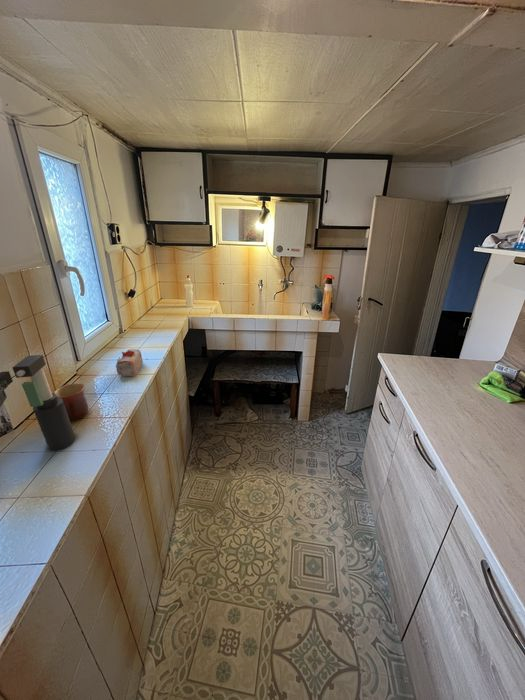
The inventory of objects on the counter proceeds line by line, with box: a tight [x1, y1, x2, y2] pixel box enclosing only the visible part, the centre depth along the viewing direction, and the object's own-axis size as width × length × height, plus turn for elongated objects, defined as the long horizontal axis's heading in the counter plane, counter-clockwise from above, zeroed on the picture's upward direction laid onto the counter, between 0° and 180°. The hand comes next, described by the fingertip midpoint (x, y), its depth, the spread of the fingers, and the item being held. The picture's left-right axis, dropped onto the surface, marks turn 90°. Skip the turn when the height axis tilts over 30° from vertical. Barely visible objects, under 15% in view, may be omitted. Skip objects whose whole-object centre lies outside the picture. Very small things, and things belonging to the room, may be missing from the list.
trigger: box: [21, 380, 44, 408], centre depth 74 cm, size 1×3×7 cm, turn 102°
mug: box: [53, 382, 89, 421], centre depth 97 cm, size 12×9×10 cm
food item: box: [115, 348, 144, 377], centre depth 126 cm, size 14×8×10 cm, turn 6°
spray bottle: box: [12, 354, 76, 451], centre depth 79 cm, size 10×7×28 cm
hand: (7, 376), depth 65 cm, fingers closed
